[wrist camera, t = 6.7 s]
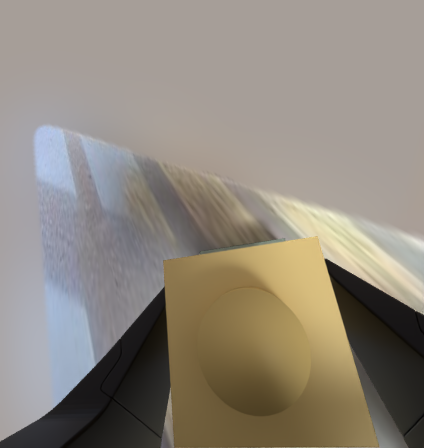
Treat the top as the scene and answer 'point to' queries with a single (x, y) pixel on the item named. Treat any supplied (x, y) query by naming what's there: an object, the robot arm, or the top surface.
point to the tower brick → (261, 351)
